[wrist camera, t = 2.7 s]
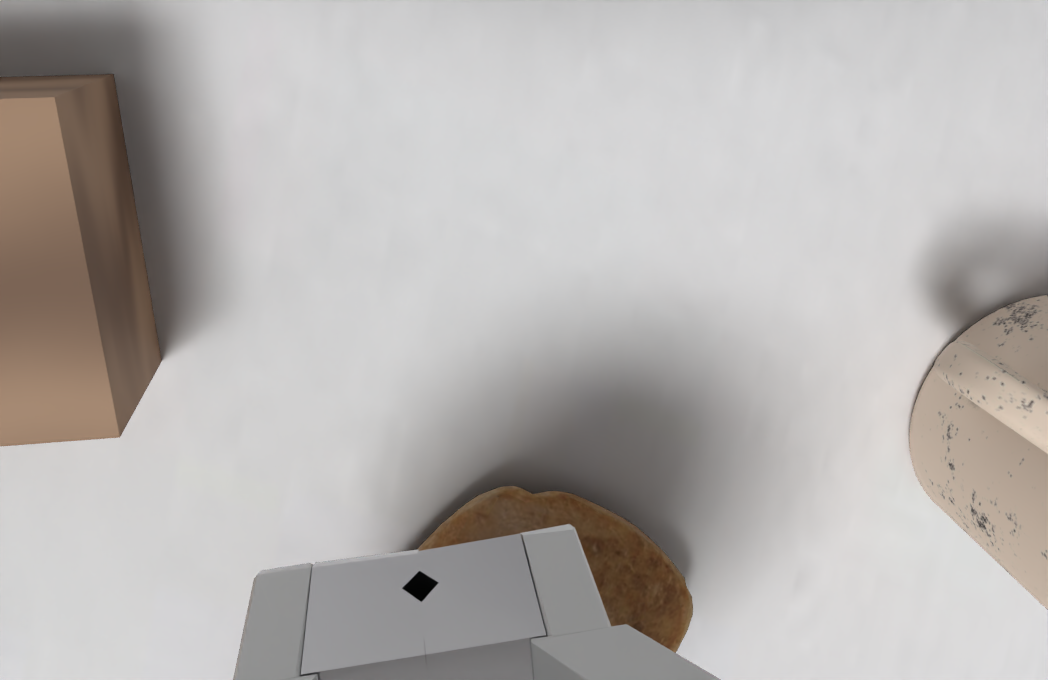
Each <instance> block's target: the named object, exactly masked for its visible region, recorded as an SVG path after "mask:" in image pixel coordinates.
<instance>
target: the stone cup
mask: <svg viewBox="0 0 1048 680" xmlns="http://www.w3.org/2000/svg"><path fill="white" fill-rule="evenodd" d="M566 524H570V525H572V526H573V527H574V528H575V529H576V532H577V535H578V537H579V540H580V543H581V546H582V548H583V551H584V554H585V556H586V559H587V562H588V564H589V567H590V570H591V573H592V575H593V578H594V581H595V583H596V586H597V589H598V592H599V594H600V597H601V600H602V602H603V605H604V608H605V611H606V613H607V616H608V619H609V621H610V624H611V626H618V625H624V624H627V625H629V626H631V627H632V628H634V629H636V630H637V631H639V632H641V633H642V634H644V635H646V636H648V637H649V638H651V639H653V640H654V641H656V642H658V643H659V644H661V645H663V646H665V647H666V648H668V649H670V650H671V651H673V652H675V653H676V651H677V649H678V648H679V646H680V644H681V642H682V640H683V638H684V636H685V634H686V632H687V630H688V627H689V624H690V621H691V618H692V615H693V604H692V596H691V594H690V593H689V591H688V589H687V587H686V583H685V579H684V577H683V576H682V574H681V573H680V572H679V570H678V569H677V568H676V566H675V565H674V564H673V563H672V561H671V560H670V559H669V558H668V557H667V555H666V554H665V553H664V552H663V551H662V550H661V549H660V548H659V547H658V546H657V545H656V544H655V543H654V542H653V541H652V540H651V539H650V538H649V537H648V536H647V535H645V534H644V533H643V532H642V531H641V530H640V529H638V528H637V527H636V526H635V525H633V524H632V523H630V522H628V521H627V520H625V519H624V518H622V517H620V516H618V515H616V514H615V513H613V512H611V511H609V510H607V509H605V508H603V507H601V506H599V505H597V504H595V503H593V502H590V501H588V500H586V499H584V498H581V497H579V496H577V495H574V494H571V493H566V492H561V491H546V492H542V493H537V494H532V493H530V492H528V491H526V490H524V489H522V488H519V487H517V486H504V487H499V488H496V489H493V490H491V491H488V492H486V493H483V494H481V495H478V496H476V497H475V498H473V499H472V500H471V501H469V502H468V503H466V504H465V505H463V506H462V507H461V508H460V509H459V510H458V511H456V512H455V513H454V514H453V515H452V516H450V517H449V518H448V519H447V520H446V521H445V522H443V523H442V524H441V525H440V526H439V527H438V528H437V529H436V530H435V531H434V532H433V533H432V534H431V535H430V536H429V537H428V538H427V539H426V540H425V541H424V542H423V543H422V545H421V546H420V547H419V548H418V549H419V551H422V550H428V549H434V548H439V547H445V546H451V545H457V544H463V543H468V542H474V541H480V540H486V539H492V538H497V537H503V536H509V535H515V534H520V533H523V532H529V531H534V530H539V529H545V528H550V527H555V526H561V525H566ZM418 549H417V550H418Z"/></svg>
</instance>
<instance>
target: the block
mask: <svg viewBox="0 0 1048 680" xmlns="http://www.w3.org/2000/svg"><path fill="white" fill-rule="evenodd" d="M160 363H161V355H160V349H159V343H158V337H157V331H156V325H155V319H154V313H153V307H152V301H151V295H150V289H149V283H148V277H147V271H146V265H145V259H144V253H143V247H142V241H141V235H140V230H139V224H138V218H137V212H136V206H135V200H134V194H133V188H132V182H131V176H130V170H129V164H128V158H127V152H126V146H125V140H124V134H123V128H122V122H121V116H120V110H119V104H118V98H117V92H116V86H115V80H114V74H100V75H62V76H25V77H0V446H11V445H24V444H37V443H51V442H64V441H77V440H90V439H104V438H117V437H120V436H121V434H122V432H123V431H124V429H125V427H126V425H127V423H128V421H129V420H130V418H131V416H132V414H133V412H134V411H135V409H136V407H137V405H138V403H139V401H140V400H141V398H142V396H143V394H144V392H145V391H146V389H147V387H148V385H149V383H150V381H151V380H152V378H153V376H154V374H155V372H156V371H157V369H158V367H159V365H160Z"/></svg>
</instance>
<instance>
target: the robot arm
mask: <svg viewBox="0 0 1048 680" xmlns="http://www.w3.org/2000/svg"><path fill="white" fill-rule="evenodd" d="M233 680H721V679H719V678H717V677H715V676H714V675H712V674H710V673H709V672H707V671H705V670H704V669H702V668H700V667H698V666H697V665H695V664H693V663H692V662H690V661H688V660H687V659H685V658H683V657H681V656H680V655H678V654H676V653H675V652H673V651H671V650H670V649H668V648H666V647H665V646H663V645H661V644H659V643H658V642H656V641H654V640H653V639H651V638H649V637H648V636H646V635H644V634H642V633H641V632H639V631H637V630H636V629H634V628H632V627H631V626H629V625H627V624H624V625H618V626H611V624H610V621H609V619H608V616H607V613H606V611H605V608H604V605H603V602H602V600H601V597H600V594H599V592H598V589H597V586H596V583H595V581H594V578H593V575H592V573H591V570H590V567H589V564H588V562H587V559H586V556H585V554H584V551H583V548H582V546H581V543H580V540H579V537H578V535H577V532H576V529H575V528H574V527H573V526H572V525H570V524H566V525H561V526H555V527H550V528H545V529H539V530H534V531H529V532H523V533H520V534H515V535H509V536H503V537H497V538H492V539H486V540H480V541H474V542H468V543H463V544H457V545H451V546H445V547H439V548H434V549H428V550H422V551H419V549H418V550H410V551H402V552H394V553H386V554H379V555H371V556H363V557H355V558H347V559H340V560H332V561H324V562H316V563H315V564H314V565H313V564H311V563H306V564H300V565H293V566H287V567H281V568H274V569H268V570H262V571H260V572H259V573H258V575H257V576H256V577H255V578H254V582H253V586H252V591H251V596H250V601H249V606H248V610H247V615H246V620H245V625H244V630H243V634H242V639H241V644H240V649H239V654H238V658H237V663H236V668H235V673H234V678H233Z"/></svg>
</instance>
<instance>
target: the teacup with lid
mask: <svg viewBox="0 0 1048 680" xmlns="http://www.w3.org/2000/svg"><path fill="white" fill-rule="evenodd" d="M909 446H910V455H911V460H912V464H913V468H914V471H915V474H916V476H917V478H918V480H919V482H920V484H921V486H922V487H923V489H924V491H925V492H926V493H927V495H928V496H929V497H930V498H931V499H932V501H933V502H934V503H935V504H936V505H937V506H939V507H940V508H941V509H942V510H943V511H944V512H945V513H946V514H947V515H948V516H949V517H950V518H951V519H952V520H953V521H954V522H955V523H956V524H958V525H959V526H960V527H961V528H962V529H963V530H964V531H965V532H966V533H967V534H968V535H969V536H970V537H971V538H972V539H973V540H974V541H975V542H976V543H978V544H979V545H980V546H981V547H982V548H983V549H984V550H985V551H986V552H987V553H988V554H989V555H990V556H991V557H992V558H993V559H994V560H995V561H997V562H998V563H999V564H1000V565H1001V566H1002V567H1003V568H1004V569H1005V570H1006V571H1007V572H1008V573H1009V574H1010V575H1011V576H1012V577H1013V578H1014V579H1016V580H1017V581H1018V582H1019V583H1020V584H1021V585H1022V586H1023V587H1024V588H1025V589H1026V590H1027V591H1028V592H1029V593H1030V594H1031V595H1032V596H1033V597H1035V598H1036V599H1037V600H1038V601H1039V602H1040V603H1041V604H1042V605H1043V606H1044V607H1045V608H1046V609H1047V610H1048V295H1043V296H1037V297H1032V298H1028V299H1024V300H1021V301H1018V302H1015V303H1012V304H1010V305H1007V306H1005V307H1003V308H1001V309H999V310H997V311H995V312H993V313H991V314H989V315H988V316H986V317H984V318H983V319H981V320H980V321H978V322H977V323H975V324H974V325H973V326H971V327H970V328H969V329H967V330H966V331H965V332H964V333H963V334H961V335H960V336H959V337H958V338H957V339H956V340H955V341H954V342H952V343H950V344H949V345H948V346H947V347H946V348H945V349H944V350H943V351H942V353H941V354H940V355H939V356H938V358H937V359H936V361H935V364H934V366H933V368H932V369H931V371H930V372H929V374H928V376H927V378H926V379H925V381H924V383H923V385H922V387H921V390H920V392H919V394H918V397H917V399H916V403H915V406H914V409H913V413H912V417H911V423H910V431H909Z"/></svg>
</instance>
